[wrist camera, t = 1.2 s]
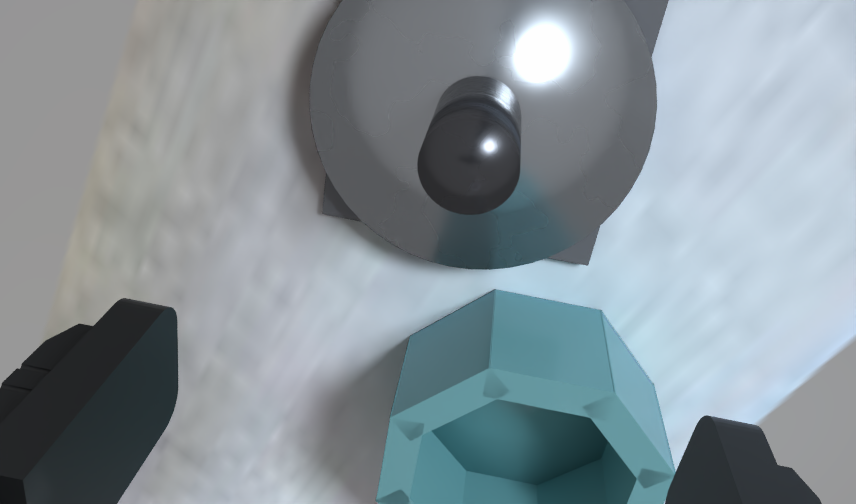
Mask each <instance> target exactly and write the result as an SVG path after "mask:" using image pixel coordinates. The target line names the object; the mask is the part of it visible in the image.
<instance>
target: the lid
mask: <svg viewBox="0 0 856 504" xmlns="http://www.w3.org/2000/svg"><path fill="white" fill-rule="evenodd" d="M656 110H657V94H656V80H655V74H654V68H653V62H652V58H651V55H650V52H649V49H648V46H647V43H646V40H645V37H644V35H643V33H642V31H641V29H640V27H639V25H638V23H637V21H636V19H635V17H634V15H633V14H632V12H631V11H630V9H629V8H628V6H627V5H626V4H625V2H624V1H623V0H342V2H341V3H340V4H339V6H338V8H337V9H336V11H335V12H334V14H333V16H332V17H331V19H330V21H329V22H328V24H327V27H326V29H325V31H324V33H323V36H322V38H321V40H320V43H319V46H318V49H317V53H316V56H315V60H314V63H313V68H312V75H311V82H310V116H311V125H312V131H313V135H314V139H315V143H316V147H317V151H318V153H319V156H320V159H321V161H322V164H323V166H324V169H325V171H326V173H327V175H328V176H329V178H330V180H331V182H332V184H333V186H334V187H335V189H336V190H337V192H338V193H339V195H340V196H341V197H342V199H343V200H344V202H345V203H346V204H347V206H348V207H349V208H350V209H351V210H352V211H353V212H354V213H355V214H356V215H357V217H358V218H359V219H360V220H361V221H362V222H364V223H365V224H366V225H367V226H368V227H369V228H370V229H372V230H373V231H374V232H375V233H376V234H378V235H379V236H381V237H382V238H384V239H385V240H387V241H388V242H390V243H391V244H393V245H394V246H396V247H398V248H400V249H402V250H404V251H406V252H408V253H410V254H412V255H415V256H417V257H420V258H423V259H425V260H428V261H431V262H435V263H439V264H443V265H447V266H452V267H459V268H466V269H500V268H510V267H515V266H520V265H524V264H529V263H533V262H535V261H538V260H541V259H544V258H547V257H550V256H552V255H554V254H557V253H559V252H561V251H563V250H565V249H567V248H569V247H571V246H572V245H574V244H575V243H577V242H579V241H580V240H582V239H583V238H585V237H586V236H588V235H589V234H590V233H591V232H593V231H594V230H595V229H596V228H598V227H599V226H600V225H601V224H602V223H603V222H604V221H605V220H606V219H607V218H608V217H609V216H610V215H611V214H612V213H613V212H614V211H615V210H616V209H617V208H618V206H619V205H620V204H621V202H622V201H623V200H624V198H625V197H626V196H627V194H628V193H629V192H630V190H631V188H632V187H633V185H634V183H635V181H636V179H637V178H638V176H639V174H640V172H641V170H642V167H643V165H644V162H645V160H646V157H647V155H648V152H649V149H650V145H651V141H652V137H653V133H654V129H655V120H656Z"/></svg>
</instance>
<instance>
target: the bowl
mask: <svg viewBox="0 0 856 504" xmlns="http://www.w3.org/2000/svg"><path fill="white" fill-rule="evenodd" d="M675 473H676V472H675V468H674V464H673V460H672V456H671V452H670V448H669V444H668V440H667V436H666V432H665V428H664V424H663V419H662V415H661V411H660V407H659V403H658V399H657V395H656V391H655V387H654V384H653V383H652V382H651V380H650V379H649V377H648V376H647V375H646V373H645V372H644V370H643V369H642V368H641V366H640V365H639V363H638V362H637V360H636V359H635V358H634V356H633V355H632V353H631V352H630V351H629V349H628V348H627V346H626V345H625V343H624V342H623V341H622V339H621V338H620V336H619V335H618V334H617V332H616V331H615V329H614V328H613V326H612V325H611V324H610V322H609V321H608V319H607V318H606V317H605V315H604V314H603V312H602V310H597V309H592V308H587V307H582V306H577V305H572V304H567V303H561V302H556V301H551V300H546V299H541V298H536V297H531V296H526V295H521V294H516V293H511V292H506V291H500V290H496V289H495V290H494V291H492V292H490V293H488V294H486V295H485V296H483V297H481V298H479V299H477V300H475V301H474V302H472V303H470V304H468V305H466V306H464V307H463V308H461V309H459V310H457V311H455V312H453V313H452V314H450V315H448V316H446V317H444V318H442V319H441V320H439V321H437V322H435V323H433V324H431V325H430V326H428V327H426V328H424V329H422V330H420V331H419V332H417V333H415V334H413V335H411V336H410V338H409V342H408V346H407V350H406V354H405V358H404V362H403V366H402V370H401V374H400V378H399V382H398V386H397V390H396V394H395V398H394V402H393V406H392V410H391V414H390V422H389V428H388V434H387V439H386V445H385V451H384V457H383V463H382V469H381V475H380V481H379V486H378V492H377V497H376V502H378V504H664V502H665V499H666V497H667V493H668V490H669V487H670V484H671V482H672V480H673V478H674V475H675Z"/></svg>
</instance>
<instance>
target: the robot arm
mask: <svg viewBox="0 0 856 504" xmlns="http://www.w3.org/2000/svg"><path fill="white" fill-rule="evenodd" d="M177 394H178V338H177V315H176V312H175V310H174V309H173V308H172V307H167V306H162V305H157V304H152V303H147V302H141V301H136V300H131V299H126V298H123V299H120V300H119V301H117V302H116V303H115V304H114V305H113V306H112V307H111V308H110V309H109V310H108V311H107V312H106V314H105V315H104V316H103V317H102V318H101V319H100V320H99V321H98V322H97V323H96V324H95V325H94V326H89V325H84V324H78V325H76V326H74V327H72V328H70V329H68V330H66V331H64V332H62V333H60V334H58V335H56V336H54V337H52V338H50V339H48V340H46V341H45V342H44V343H43V344H42V345H41V346H40V347H39V348H38V349H36V350H35V351H34V352H33V354H31V355H30V356H29V357H28V358H27V359H26V360H25V361H24V362H23V363H22V366H21V368H20V369H16V370H15V371H14V372H13V373H12V374H11V375H10V376H9V377H8V378H7V379H6V380H5V381H4V382H3V383H2V386H1V388H0V504H117V503H118V501H119V500H120V498H121V497H122V495H123V494H124V492H125V490H126V489H127V487H128V486H129V484H130V483H131V481H132V480H133V478H134V477H135V475H136V473H137V472H138V470H139V469H140V467H141V466H142V464H143V463H144V461H145V460H146V458H147V457H148V455H149V453H150V452H151V450H152V449H153V447H154V446H155V444H156V443H157V441H158V440H159V438H160V436H161V435H162V433H163V432H164V430H165V429H166V427H167V425H168V423H169V421H170V419H171V416H172V414H173V411H174V408H175V404H176V400H177ZM665 504H821V501H820V499H819V498H818V497H817V496H816V495H815V493H814V492H813V491H812V490H811V489H810V488H809V487H808V486H807V484H806V483H805V482H804V481H803V480H802V479H801V478H800V477H799V476H798V474H797V473H796V472H795V471H794V470H793V469H792V468H789V467H784V466H779V465H777V463H776V460H775V458H774V456H773V453H772V451H771V449H770V446H769V444H768V442H767V439H766V437H765V435H764V433H763V431H762V429H761V428H760V427H759V426H757V425H752V424H747V423H742V422H737V421H732V420H727V419H722V418H717V417H712V416H704V417H702V418H701V419H700V420H699V422H698V423H697V425H696V427H695V430H694V432H693V434H692V436H691V439H690V441H689V443H688V446H687V448H686V450H685V452H684V455H683V457H682V459H681V462H680V464H679V466H678V468H677V471H676V473H675V475H674V478H673V480H672V482H671V484H670V487H669V490H668V493H667V497H666V502H665Z"/></svg>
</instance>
